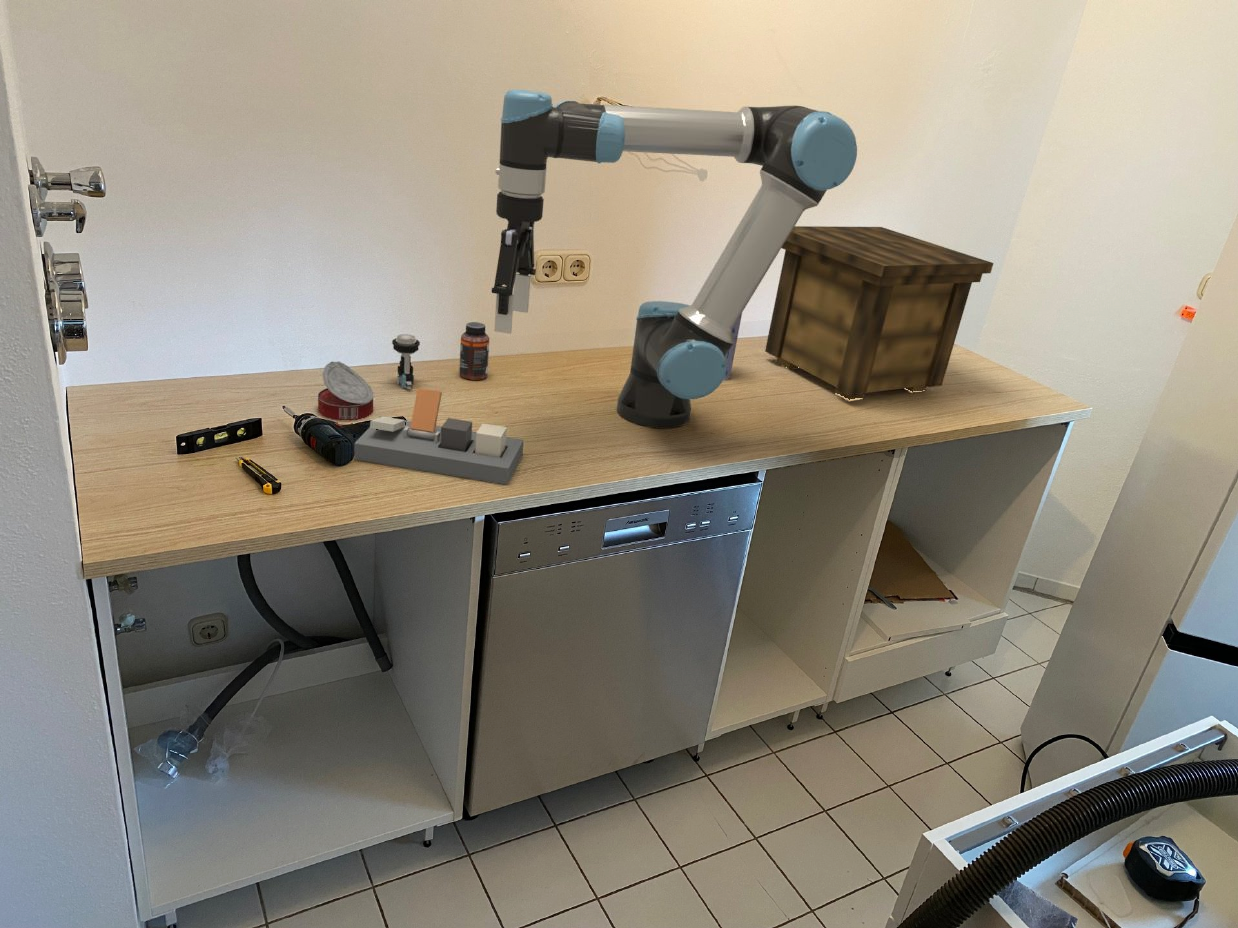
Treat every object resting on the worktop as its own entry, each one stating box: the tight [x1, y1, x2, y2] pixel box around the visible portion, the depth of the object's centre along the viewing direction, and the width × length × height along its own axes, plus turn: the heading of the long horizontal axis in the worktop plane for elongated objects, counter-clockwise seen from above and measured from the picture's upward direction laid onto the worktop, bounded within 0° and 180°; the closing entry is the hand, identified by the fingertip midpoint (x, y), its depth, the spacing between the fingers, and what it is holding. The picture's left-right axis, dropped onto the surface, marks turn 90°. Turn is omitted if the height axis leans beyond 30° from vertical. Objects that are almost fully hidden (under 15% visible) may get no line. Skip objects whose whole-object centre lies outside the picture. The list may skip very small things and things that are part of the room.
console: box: [353, 416, 525, 485], centre depth 155 cm, size 26×12×4 cm, turn 83°
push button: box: [391, 333, 421, 390], centre depth 181 cm, size 7×5×10 cm
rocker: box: [369, 416, 406, 432], centre depth 155 cm, size 4×6×1 cm, turn 173°
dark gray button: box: [440, 417, 473, 452], centre depth 154 cm, size 4×4×4 cm
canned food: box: [317, 360, 374, 422], centre depth 168 cm, size 11×10×10 cm
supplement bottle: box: [458, 321, 490, 381], centre depth 190 cm, size 6×6×11 cm
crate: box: [764, 225, 994, 400], centre depth 216 cm, size 35×35×33 cm
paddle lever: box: [408, 387, 443, 439], centre depth 155 cm, size 4×1×8 cm, turn 84°
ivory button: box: [475, 423, 508, 457], centre depth 154 cm, size 4×4×4 cm
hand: (511, 321), depth 156 cm, fingers open, 12 cm apart
